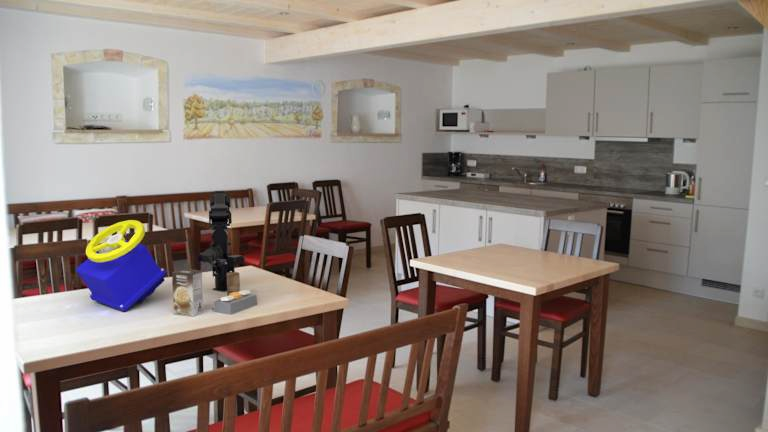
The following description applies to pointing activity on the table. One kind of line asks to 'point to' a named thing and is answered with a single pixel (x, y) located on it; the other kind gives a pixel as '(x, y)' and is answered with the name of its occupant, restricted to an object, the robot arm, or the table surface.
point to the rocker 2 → (244, 292)
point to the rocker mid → (235, 295)
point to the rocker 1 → (227, 298)
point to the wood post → (233, 282)
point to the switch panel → (235, 304)
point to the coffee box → (187, 292)
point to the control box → (120, 267)
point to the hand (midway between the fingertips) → (221, 280)
